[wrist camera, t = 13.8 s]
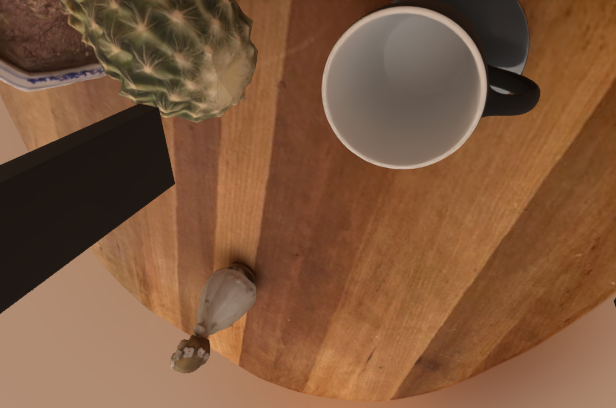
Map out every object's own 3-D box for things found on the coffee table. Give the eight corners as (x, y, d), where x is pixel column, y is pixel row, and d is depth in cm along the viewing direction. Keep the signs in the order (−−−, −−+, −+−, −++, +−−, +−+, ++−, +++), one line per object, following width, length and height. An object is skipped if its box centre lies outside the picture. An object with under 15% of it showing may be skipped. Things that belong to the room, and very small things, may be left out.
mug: (357, 101, 32) (314, 150, 24) (375, -21, 27) (328, -7, 19) (506, 132, 29) (512, 201, 21) (561, 1, 23) (595, 29, 16)
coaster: (555, -26, 23) (557, -25, 23) (499, 136, 30) (499, 139, 29) (382, -35, 27) (380, -35, 26) (364, 113, 33) (363, 115, 32)
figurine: (222, 247, 51) (144, 335, 39) (266, 266, 49) (199, 363, 38) (222, 285, 56) (152, 374, 44) (262, 303, 54) (201, 399, 43)
